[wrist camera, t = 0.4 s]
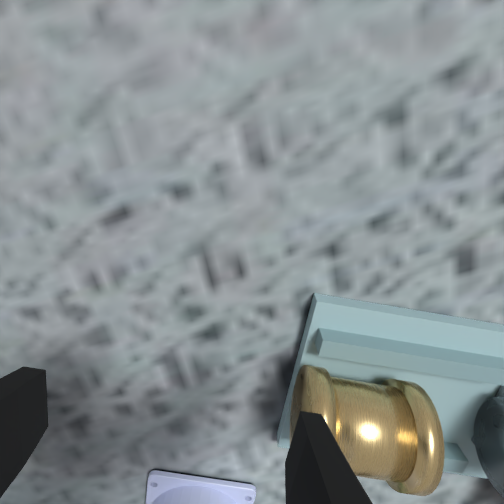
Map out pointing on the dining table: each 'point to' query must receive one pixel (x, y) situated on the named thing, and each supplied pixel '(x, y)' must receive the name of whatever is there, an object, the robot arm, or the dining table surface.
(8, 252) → the dining table surface
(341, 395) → the coupling
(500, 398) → the glass spice jar
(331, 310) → the board
